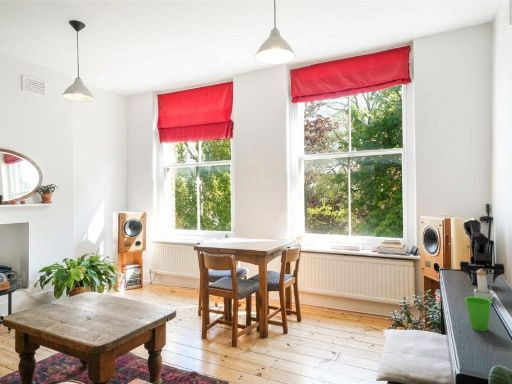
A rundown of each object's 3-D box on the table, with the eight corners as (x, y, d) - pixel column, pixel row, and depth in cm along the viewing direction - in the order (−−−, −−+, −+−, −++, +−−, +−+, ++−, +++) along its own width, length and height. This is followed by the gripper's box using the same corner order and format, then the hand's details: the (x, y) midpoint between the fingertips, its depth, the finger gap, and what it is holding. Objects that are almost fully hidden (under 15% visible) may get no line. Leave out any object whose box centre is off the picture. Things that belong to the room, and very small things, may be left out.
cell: (478, 295, 168) (476, 268, 168) (488, 296, 166) (486, 268, 166) (478, 297, 165) (476, 269, 165) (488, 298, 162) (486, 270, 163)
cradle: (474, 294, 170) (473, 288, 171) (492, 296, 166) (492, 290, 166) (474, 298, 164) (473, 292, 164) (492, 300, 160) (492, 294, 160)
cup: (498, 333, 124) (496, 304, 124) (471, 332, 125) (470, 303, 126) (487, 324, 132) (485, 296, 133) (462, 323, 134) (460, 296, 134)
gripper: (459, 246, 174) (459, 271, 165) (503, 247, 164) (505, 274, 155) (460, 258, 181) (460, 283, 171) (502, 260, 170) (505, 287, 161)
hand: (482, 281), depth 164 cm, fingers open, 9 cm apart
